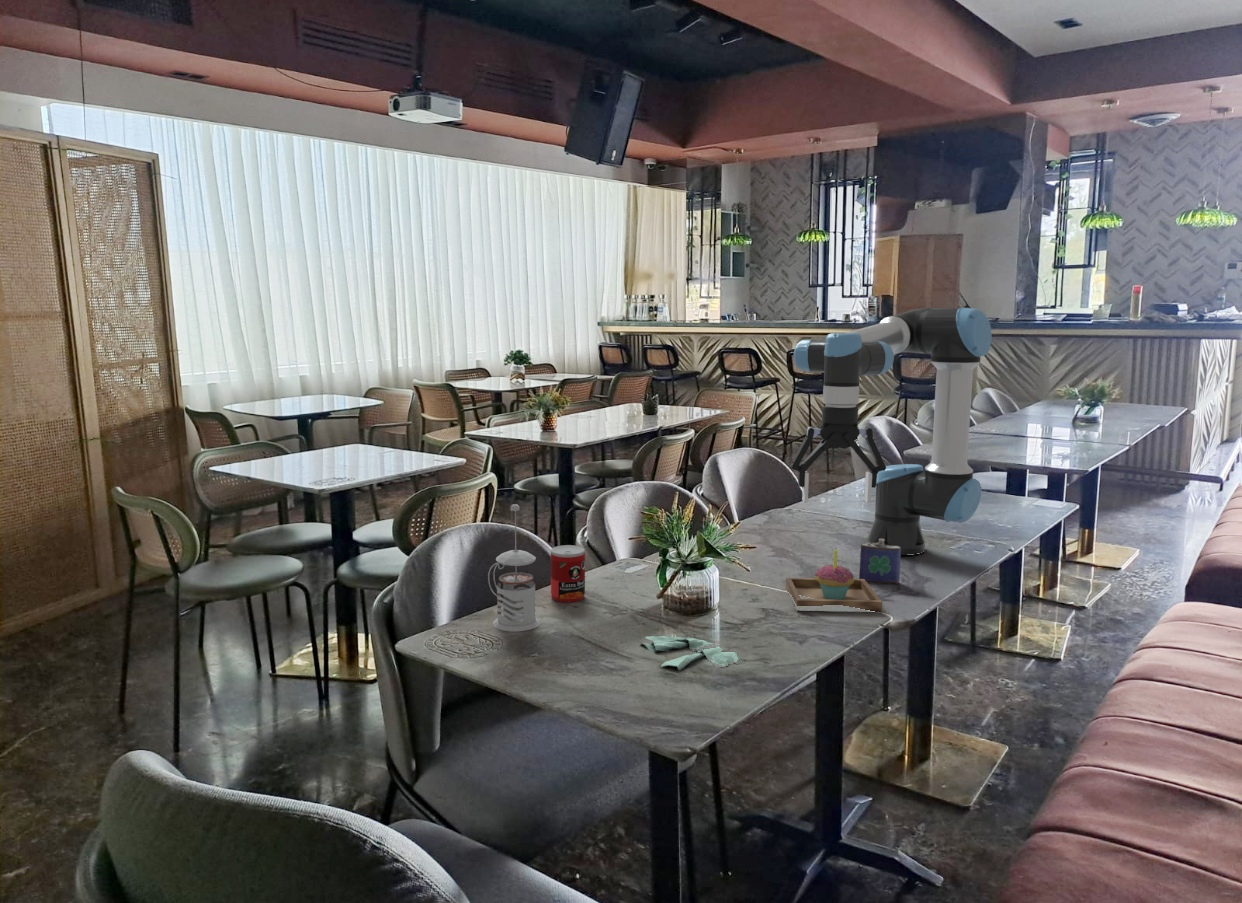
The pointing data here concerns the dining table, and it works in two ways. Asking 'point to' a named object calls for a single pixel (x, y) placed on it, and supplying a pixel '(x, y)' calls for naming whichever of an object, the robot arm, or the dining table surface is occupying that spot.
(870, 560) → the flask
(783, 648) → the dining table surface
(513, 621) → the french press
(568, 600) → the canned food
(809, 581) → the tray
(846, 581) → the cupcake
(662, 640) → the cloth
